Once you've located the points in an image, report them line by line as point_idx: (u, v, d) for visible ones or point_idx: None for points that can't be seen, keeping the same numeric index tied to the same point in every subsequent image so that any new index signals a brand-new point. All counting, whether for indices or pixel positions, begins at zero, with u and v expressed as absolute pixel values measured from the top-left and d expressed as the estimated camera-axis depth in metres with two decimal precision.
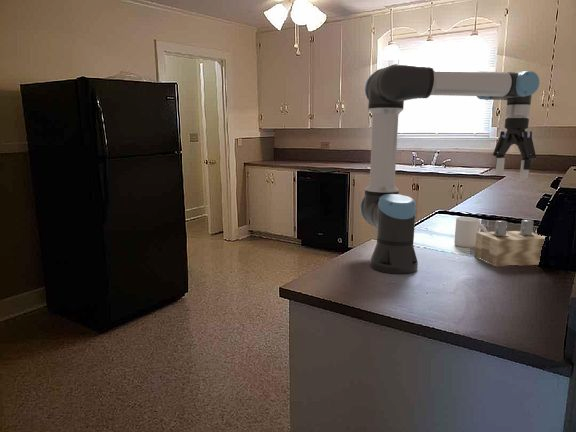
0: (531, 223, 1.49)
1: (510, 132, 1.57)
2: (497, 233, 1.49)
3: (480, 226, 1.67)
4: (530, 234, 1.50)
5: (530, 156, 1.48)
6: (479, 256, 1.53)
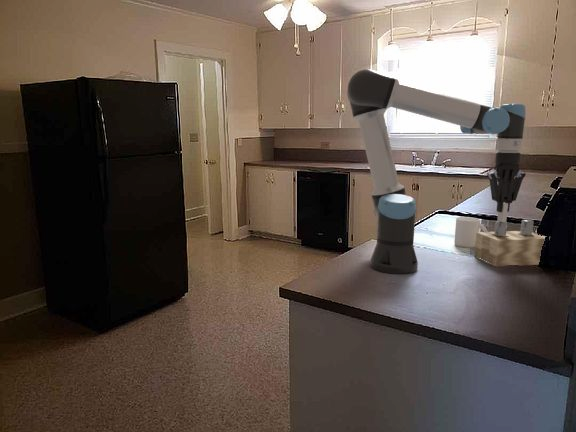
0: (531, 223, 1.49)
1: None
2: (496, 234, 1.49)
3: (480, 226, 1.67)
4: (530, 234, 1.50)
5: (492, 199, 1.48)
6: (479, 256, 1.53)
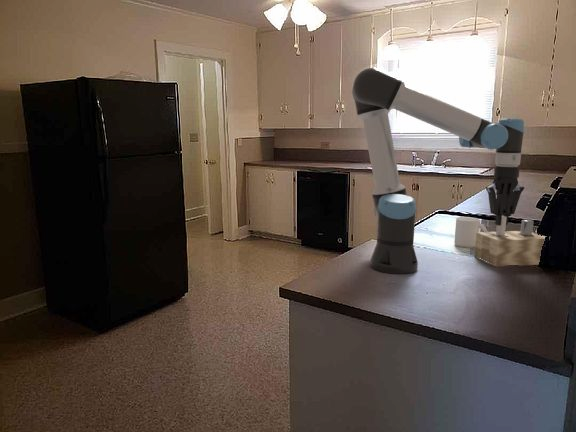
0: (531, 223, 1.49)
1: None
2: None
3: (480, 226, 1.67)
4: (530, 234, 1.50)
5: (491, 212, 1.49)
6: (479, 256, 1.53)
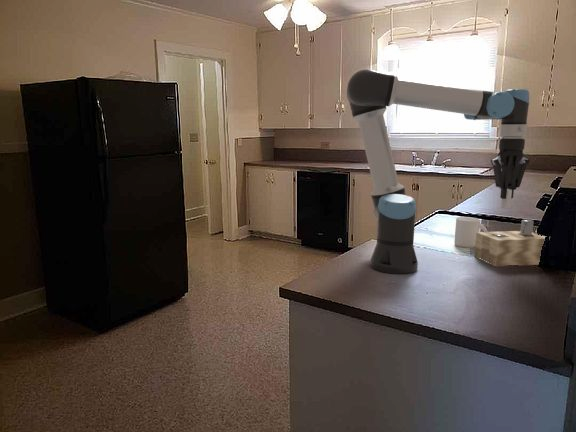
0: (531, 223, 1.49)
1: None
2: None
3: (480, 226, 1.67)
4: (530, 234, 1.50)
5: (496, 185, 1.47)
6: (479, 256, 1.53)
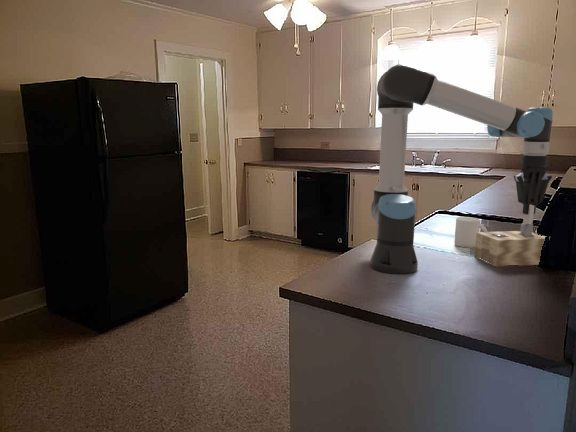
0: (531, 226, 1.49)
1: None
2: None
3: (480, 226, 1.67)
4: None
5: (519, 201, 1.50)
6: (479, 256, 1.53)
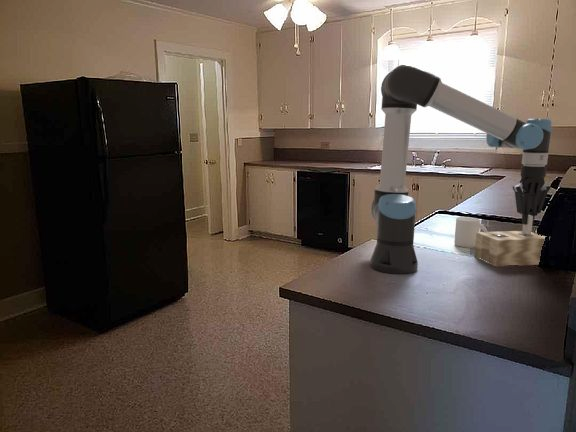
0: None
1: None
2: None
3: (480, 226, 1.67)
4: None
5: (517, 211, 1.50)
6: (479, 256, 1.53)
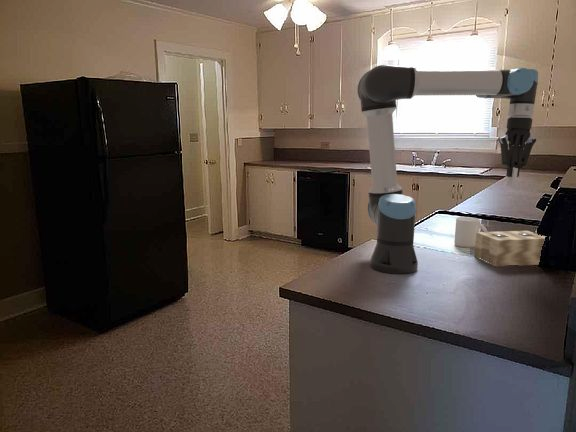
0: None
1: None
2: None
3: (480, 226, 1.67)
4: None
5: (503, 164, 1.51)
6: (479, 256, 1.53)
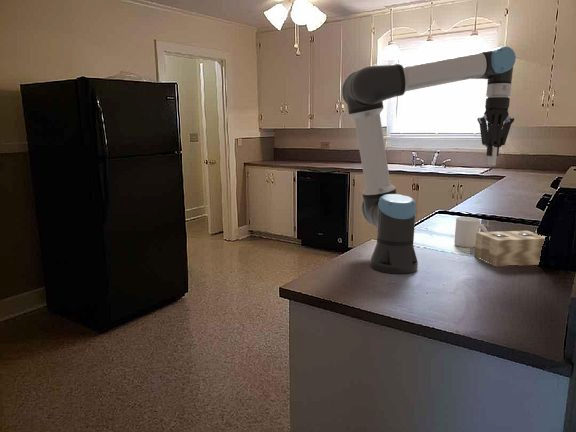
0: None
1: None
2: None
3: (480, 226, 1.67)
4: None
5: (482, 143, 1.54)
6: (479, 256, 1.53)
